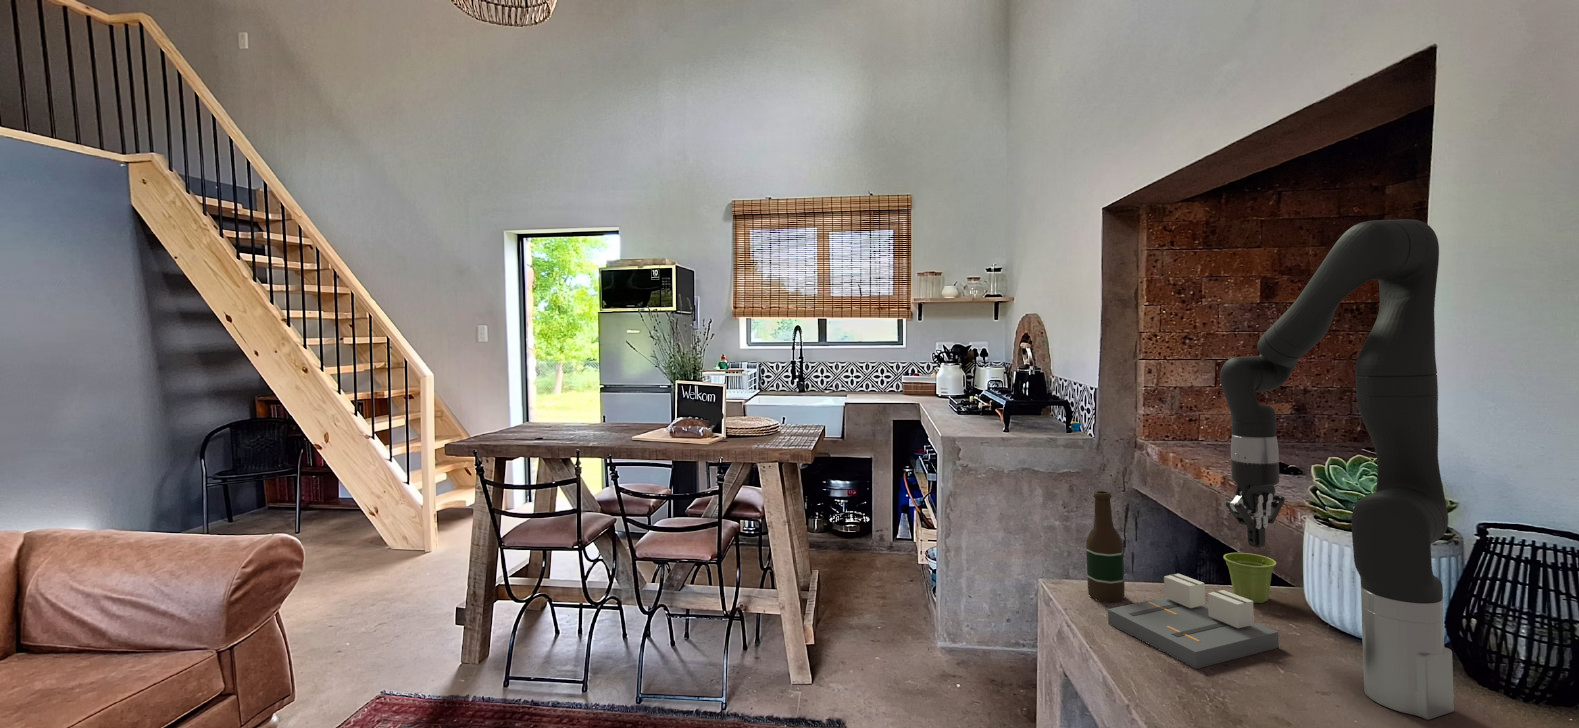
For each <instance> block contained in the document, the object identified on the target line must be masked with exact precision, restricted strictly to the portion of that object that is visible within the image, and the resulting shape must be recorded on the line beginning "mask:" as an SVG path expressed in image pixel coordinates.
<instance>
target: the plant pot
mask: <svg viewBox="0 0 1579 728" xmlns="http://www.w3.org/2000/svg"><path fill="white" fill-rule="evenodd" d="M1223 559H1224V561H1225V563H1226V566H1227V567H1228V571H1229V575H1230V581H1231V586H1232V590H1233V594H1235V595H1238V596H1241V597H1244V598H1246V599H1249V600H1252V601H1253V604H1255V603H1258V604H1263V603H1265V602H1269V599H1270V598H1269V596H1270V589H1271V583H1272V582H1271V581H1272V574H1273V572H1274V568H1275V567H1276V566H1277V562H1276V560H1274V559H1273V558H1270V557H1268V556H1264V555H1262V554H1261V555H1260V554H1255V553H1247V552H1230V553H1225V554H1224V555H1223Z"/></svg>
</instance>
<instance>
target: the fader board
mask: <svg viewBox="0 0 1579 728" xmlns="http://www.w3.org/2000/svg"><path fill="white" fill-rule="evenodd" d="M1107 623H1108V625H1110V624H1111V626H1112V627H1115V628H1116V627H1117V628H1116V629H1118V630H1120V629H1121V630H1120V631H1122V632H1124V633H1126V634H1128V633H1129V634H1128V635H1130V636H1132V635H1133V636H1135V637H1137V638H1139V639H1141V640H1143V641H1145V642H1147V643H1149V644H1151V645H1153V646H1154V647H1153V646H1152V647H1153V648H1155V647H1156V648H1155V649H1157V648H1158V649H1157V650H1159V649H1160V650H1159V651H1161V652H1162V651H1163V652H1162V653H1164V652H1166V653H1167V654H1166V653H1165V654H1166V655H1168V654H1169V655H1168V656H1170V655H1171V657H1172V656H1173V657H1172V658H1174V657H1175V658H1174V659H1176V658H1178V659H1179V660H1178V659H1177V660H1178V661H1180V660H1181V661H1180V662H1182V663H1184V662H1185V663H1184V664H1185V665H1188V666H1189V665H1190V667H1192V668H1194V669H1195V670H1197V669H1201V668H1204V667H1209V666H1213V665H1216V664H1221V663H1224V662H1228V661H1232V660H1236V659H1239V658H1244V657H1248V656H1251V655H1257V654H1260V653H1265V652H1267V651H1268V652H1269V651H1272V650H1275V649H1276V650H1277V649H1279V647H1280V646H1279V645H1280V644H1279V631H1278V630H1275V629H1272V628H1270V627H1267V626H1264V625H1262V624H1260V623H1258V622H1255V621H1254V625H1250V626H1246V627H1242V628H1236V627H1234V626H1231V625H1229V624H1227V623H1224V622H1222V621H1220V620H1217V619H1215V618H1212V617H1210V616H1209V615H1208V602H1205V605H1203V606H1198V607H1193V608H1189V607H1186V606H1184V605H1181V604H1179V603H1177V602H1174V601H1172V600H1170V599H1167V598H1165V596H1164V597H1161V598H1155V599H1150V600H1146V601H1139V602H1136V603H1132V604H1125V605H1121V606H1116V607H1112V608H1108V609H1107ZM1133 636H1132V637H1133ZM1135 637H1134V638H1135ZM1137 638H1136V639H1137ZM1139 639H1138V640H1139ZM1141 640H1140V641H1141ZM1143 641H1142V642H1143ZM1145 642H1144V643H1145ZM1147 643H1146V644H1147ZM1149 644H1148V645H1149ZM1151 645H1150V646H1151Z"/></svg>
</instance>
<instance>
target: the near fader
mask: <svg viewBox="0 0 1579 728" xmlns="http://www.w3.org/2000/svg"><path fill="white" fill-rule="evenodd" d="M1207 604H1208V615H1209V616H1210V617H1212V618H1215V619H1217V620H1220V621H1222V622H1224V623H1227V624H1229V625H1231V626H1234V627H1236V628H1242V627H1246V626H1250V625H1254V622H1255V618H1254V615H1255V614H1254V612H1255V611H1254V602H1253V601H1252V600H1249V599H1246V598H1244V597H1241V596H1238V595H1235V594H1234V592H1233V593H1232V592H1229V591H1227V590H1225V589H1220V590H1214V591H1212V592H1208V593H1207Z"/></svg>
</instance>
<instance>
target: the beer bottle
mask: <svg viewBox="0 0 1579 728" xmlns="http://www.w3.org/2000/svg"><path fill="white" fill-rule="evenodd" d="M1092 497H1093V498H1094V520H1093V526H1092V529H1091V530H1090V532H1089V533H1088V536H1087V538H1086V542H1085V543H1086V546H1085V547H1086V548H1085V549H1086V550H1085V551H1086V552H1085V553H1086V573H1087V575H1086V576H1087V577H1086V578H1087V591H1088V592H1087V593H1088V596H1089V595H1090V596H1091V597H1090V596H1089V597H1090V598H1092V597H1093V598H1092V599H1094V600H1095V599H1097V600H1099V601H1098V602H1102V601H1105V602H1104V603H1108V602H1114V603H1120V602H1123V600H1124V598H1125V589H1126V588H1125V565H1124V563H1125V562H1124V547H1123V541H1122V537H1121V536H1120V533H1119V532H1118V531H1117V530H1116V528H1115V527H1114V526H1115V525H1114V522H1113V514H1112V513H1113V512H1112V504H1111V498H1112V494H1111V492H1110V491H1109V492H1108V491H1105V490H1097V491H1094V494H1093V496H1092ZM1097 600H1096V601H1097Z"/></svg>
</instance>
